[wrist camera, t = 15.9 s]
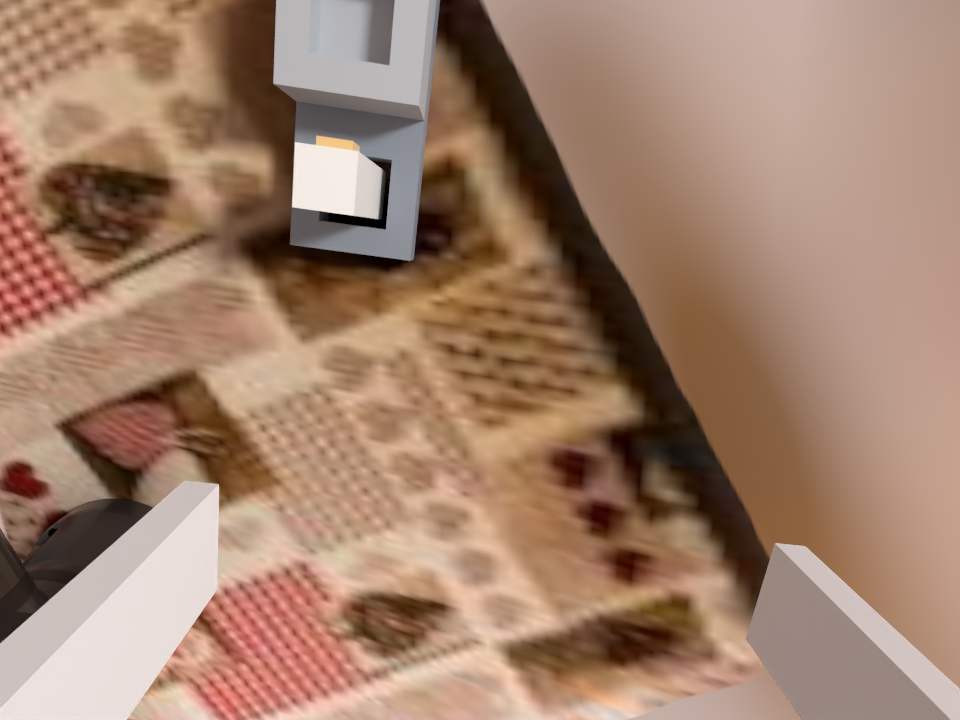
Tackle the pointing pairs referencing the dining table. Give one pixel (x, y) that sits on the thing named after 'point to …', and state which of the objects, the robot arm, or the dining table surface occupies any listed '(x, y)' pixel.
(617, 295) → the dining table surface
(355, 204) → the plug
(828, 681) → the robot arm
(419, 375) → the dining table surface
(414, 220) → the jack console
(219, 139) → the dining table surface
